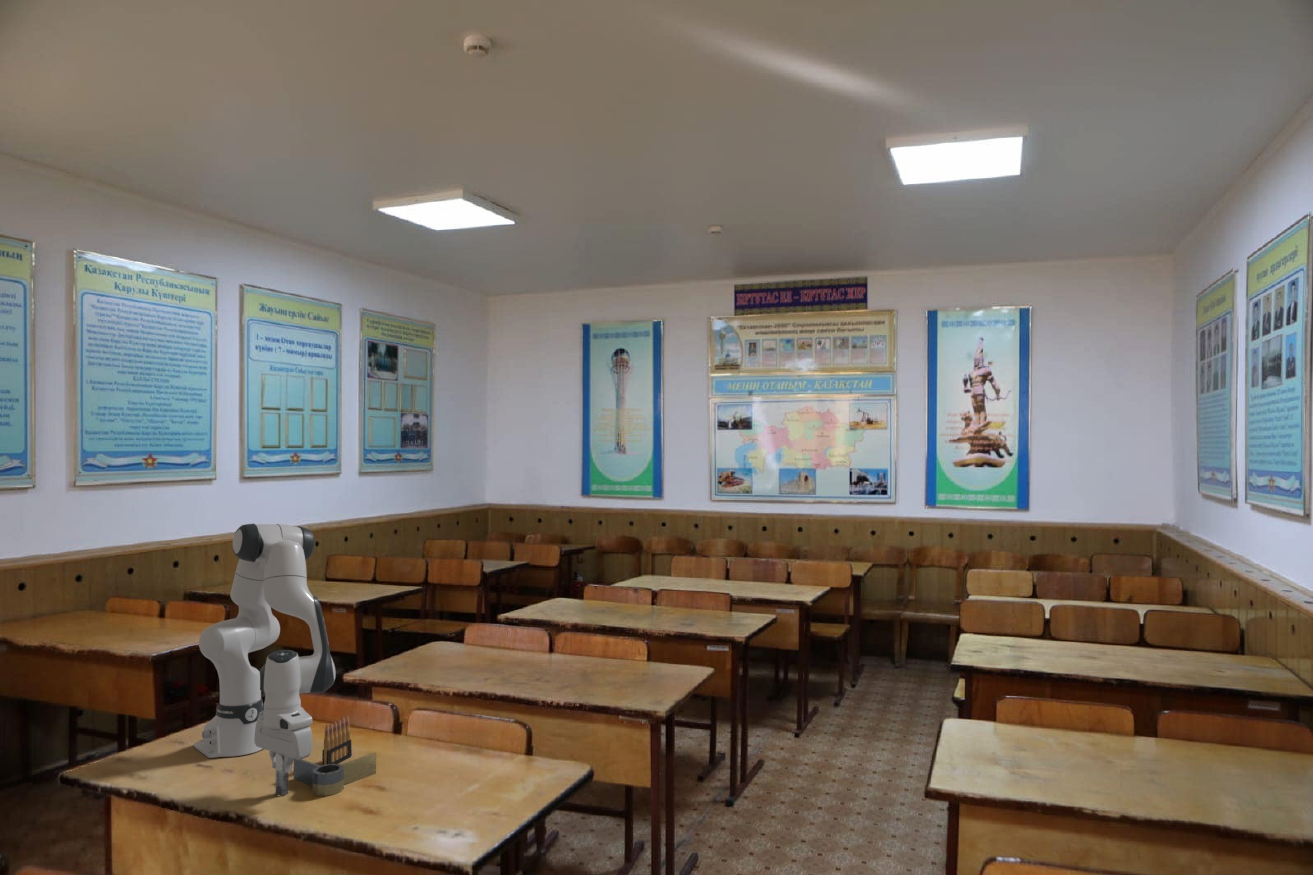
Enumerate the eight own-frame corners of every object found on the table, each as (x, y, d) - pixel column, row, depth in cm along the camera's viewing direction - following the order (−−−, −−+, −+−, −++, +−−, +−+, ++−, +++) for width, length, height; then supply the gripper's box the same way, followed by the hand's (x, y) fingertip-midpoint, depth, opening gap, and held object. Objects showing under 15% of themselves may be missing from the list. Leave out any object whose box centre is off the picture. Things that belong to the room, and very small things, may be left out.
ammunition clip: (327, 769, 238) (327, 725, 238) (321, 768, 238) (321, 725, 239) (351, 756, 248) (352, 714, 248) (346, 755, 249) (346, 714, 249)
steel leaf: (282, 782, 228) (282, 762, 228) (307, 774, 234) (307, 754, 234) (324, 797, 217) (324, 776, 218) (349, 788, 224) (349, 767, 224)
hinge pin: (273, 794, 220) (273, 747, 220) (283, 790, 223) (284, 743, 223) (279, 796, 218) (280, 749, 219) (290, 792, 221) (290, 746, 221)
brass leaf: (306, 791, 222) (307, 770, 222) (366, 770, 237) (366, 750, 237) (324, 797, 217) (324, 776, 218) (383, 775, 233) (383, 755, 233)
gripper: (248, 712, 224) (247, 765, 224) (294, 725, 213) (293, 781, 212) (270, 706, 229) (270, 758, 229) (316, 718, 218) (316, 773, 218)
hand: (282, 769), depth 221 cm, fingers closed on hinge pin, 3 cm apart
